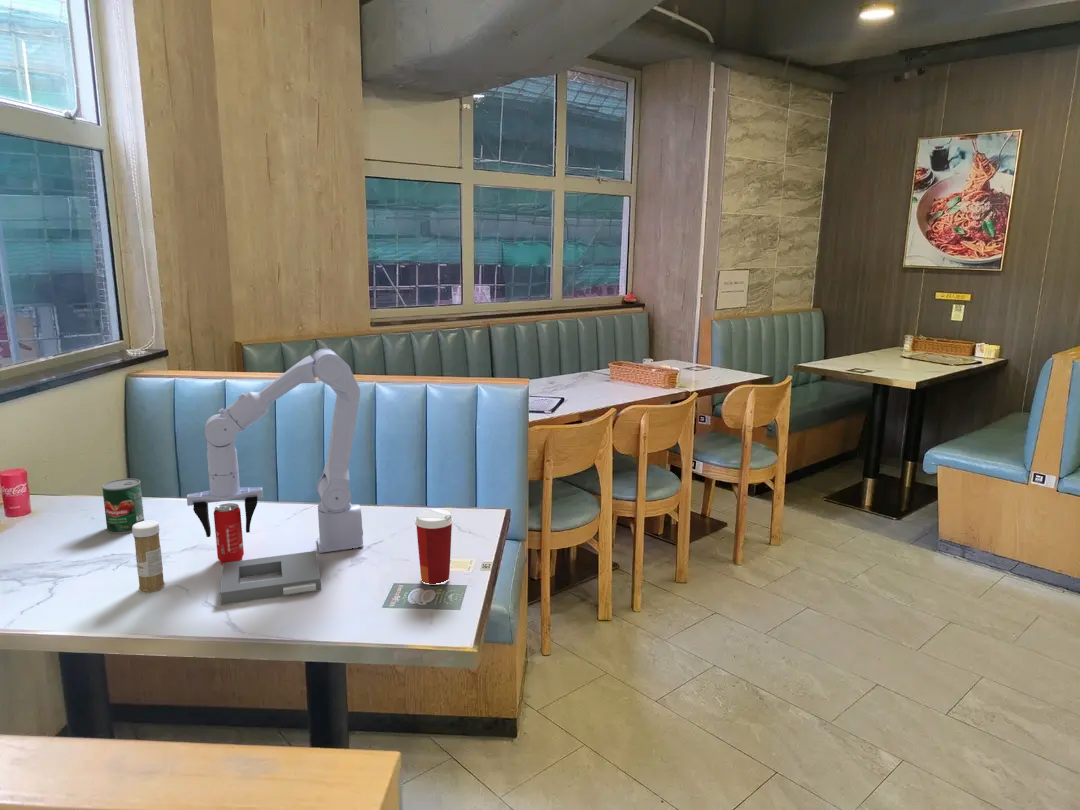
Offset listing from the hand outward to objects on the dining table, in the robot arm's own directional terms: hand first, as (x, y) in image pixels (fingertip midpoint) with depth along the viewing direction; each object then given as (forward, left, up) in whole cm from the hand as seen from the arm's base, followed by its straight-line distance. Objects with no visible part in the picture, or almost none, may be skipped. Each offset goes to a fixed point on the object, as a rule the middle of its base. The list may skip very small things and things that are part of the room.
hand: (228, 533), depth 154 cm
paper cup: (-39, +24, -6) cm, 46 cm away
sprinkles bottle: (+14, +9, -6) cm, 18 cm away
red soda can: (0, 0, -6) cm, 6 cm away
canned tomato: (+24, -28, -6) cm, 37 cm away
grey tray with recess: (-8, +14, -6) cm, 17 cm away
